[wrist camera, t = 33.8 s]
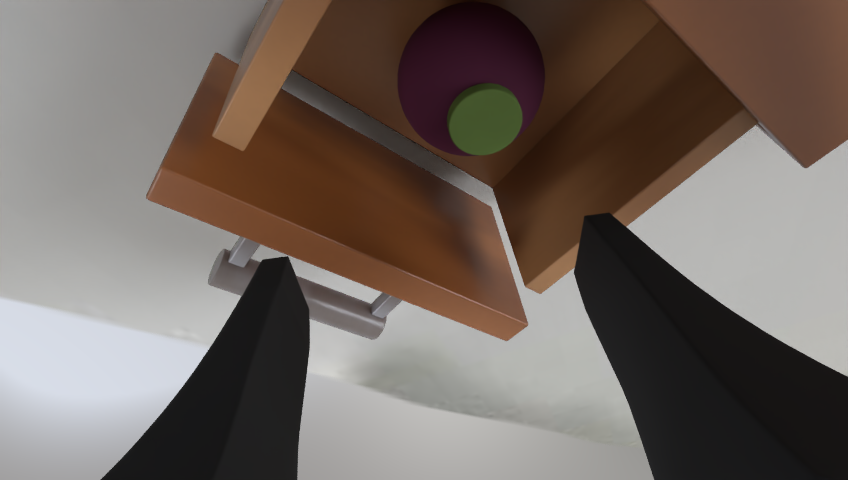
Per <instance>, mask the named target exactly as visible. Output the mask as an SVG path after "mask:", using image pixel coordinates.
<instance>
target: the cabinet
mask: <svg viewBox="0 0 848 480" xmlns="http://www.w3.org/2000/svg"><path fill="white" fill-rule="evenodd" d="M641 1H642V3H643V4H644V5H645V6H646V7H647V8H648V9H649V10H650V11H651V12H652V13H653V14H654V15H655V16H656V17H657V18H658V19H659V20H660V21H661V22H662V23H663V24H664V25H665V26H666V28H667V29H668V30H669V31H670V32H671V33H672V34H673V35H674V36H675V37H676V38H677V39H678V40H679V41H680V42H681V43H682V44H683V45H684V46H685V47H686V48H687V49H688V50H689V51H690V52H691V54H692V55H693V56H694V57H695V58H696V59H697V60H698V61H699V62H700V63H701V64H702V65H703V66H704V67H705V68H706V69H707V70H708V71H709V72H710V73H711V74H712V75H713V76H714V77H715V78H716V80H717V81H718V82H719V83H720V84H721V85H722V86H723V87H724V88H725V89H726V90H727V91H728V92H729V93H730V94H731V95H732V96H733V97H734V98H735V99H736V100H737V101H738V102H739V103H740V105H741V106H742V107H743V108H744V109H745V110H746V111H747V112H748V113H749V114H750V115H751V116H752V117H753V118H754V119H755V120H756V121H757V122H758V123H757V124H756V126H757V127H758V128H759V129H761V130H762V131H763V132H764V133H765V134H766V135H767V136H768V137H770V138H771V139H772V140H773V141H774V142H775V143H776V144H778V145H779V146H780V147H781V148H782V149H783V150H785V151H786V152H787V153H788V154H789V155H790V156H791V157H792V158H793V159H794V160H796V161H797V162H798V163H799V164H800V165H801V166H802V167H804V168H808V167H809V166H811V165H812V164H814V163H815V162H816V161H818V160H819V159H821V158H822V157H824V156H825V155H826V154H828V153H829V152H831V151H832V150H834V149H835V148H836V147H838V146H839V145H841V144H842V143H844V142H845V141H846V140H848V0H641Z"/></svg>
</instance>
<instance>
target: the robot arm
mask: <svg viewBox="0 0 848 480" xmlns="http://www.w3.org/2000/svg"><path fill="white" fill-rule="evenodd" d="M574 275H575V278H576V281H577V285H578V288H579V291H580V294H581V297H582V300H583V303H584V306H585V309H586V312H587V314H588V316H589V318H590V320H591V323H592V325H593V327H594V329H595V331H596V333H597V336H598V338H599V340H600V342H601V344H602V346H603V348H604V351H605V353H606V355H607V357H608V359H609V361H610V363H611V365H612V368H613V370H614V372H615V374H616V376H617V378H618V380H619V382H620V385H621V387H622V389H623V391H624V394H625V396H626V399H627V401H628V403H629V406H630V409H631V412H632V415H633V418H634V420H635V423H636V426H637V429H638V432H639V435H640V438H641V440H642V443H643V447H644V450H645V453H646V456H647V459H648V462H649V465H650V468H651V471H652V474H653V477H654V480H848V377H847V376H845V375H843V374H841V373H839V372H837V371H835V370H833V369H831V368H829V367H827V366H825V365H823V364H821V363H819V362H817V361H816V360H814V359H812V358H810V357H808V356H807V355H805V354H803V353H801V352H799V351H797V350H796V349H794V348H792V347H790V346H788V345H787V344H785V343H783V342H781V341H780V340H778V339H776V338H774V337H773V336H771V335H769V334H768V333H766V332H764V331H763V330H761V329H760V328H758V327H756V326H755V325H753V324H752V323H750V322H749V321H747V320H745V319H744V318H742V317H741V316H739V315H738V314H736V313H734V312H733V311H732V310H730V309H729V308H727V307H726V306H724V305H723V304H721V303H720V302H718V301H717V300H716V299H714V298H713V297H712V296H710V295H709V294H707V293H706V292H705V291H703V290H702V289H701V288H699V287H698V286H696V285H695V284H694V283H693V282H691V281H690V280H689V279H687V278H686V277H685V276H683V275H682V274H681V273H680V272H679V271H677V270H676V269H675V268H674V267H672V266H671V265H670V264H669V263H667V262H666V261H665V260H664V259H663V258H661V257H660V256H659V255H658V254H657V253H655V252H654V251H653V250H652V249H651V248H650V247H648V246H647V245H646V244H645V243H644V242H643V241H642V240H640V239H639V238H638V237H637V236H636V235H635V234H633V233H632V232H631V231H630V230H629V229H628V228H627V227H625V226H624V225H623V224H622V223H621V222H620V221H619V220H617V219H616V218H615V217H614V216H613V215H612V214H611V213H602V214H594V215H587V216H584V220H583V226H582V231H581V237H580V242H579V248H578V253H577V259H576V264H575V269H574ZM309 348H310V321H309V307H308V305H307V302H306V300H305V297H304V295H303V292H302V290H301V287H300V285H299V282H298V280H297V277H296V275H295V272H294V270H293V268H292V265H291V263H290V260H289V258H288V256H287V257H279V258H272V259H265V260H262V261H261V263H260V264H259V266H258V268H257V269H256V271H255V273H254V275H253V277H252V279H251V280H250V282H249V284H248V286H247V288H246V289H245V291H244V293H243V295H242V296H241V298H240V300H239V302H238V303H237V305H236V307H235V309H234V310H233V312H232V314H231V315H230V317H229V319H228V320H227V322H226V323H225V325H224V327H223V328H222V330H221V332H220V333H219V335H218V336H217V338H216V340H215V341H214V343H213V344H212V346H211V347H210V349H209V350H208V352H207V353H206V355H205V356H204V357H203V359H202V360H201V362H200V363H199V365H198V366H197V368H196V369H195V371H194V372H193V373H192V375H191V376H190V377H189V379H188V380H187V382H186V383H185V385H184V386H183V387H182V388H181V390H180V391H179V392H178V394H177V395H176V396H175V397H174V399H173V400H172V401H171V402H170V404H169V405H168V406H167V408H166V409H165V410H164V411H163V412H162V414H161V415H160V416H159V417H158V418H157V419H156V420H155V422H154V423H153V424H152V425H151V426H150V428H149V429H148V430H147V431H146V432H145V433H144V435H143V436H142V437H141V438H140V439H139V440H138V441H137V442H136V443H135V445H134V446H133V447H132V448H131V449H130V450H129V451H128V452H127V453H126V454H125V455H124V457H123V458H122V459H121V460H120V461H119V462H118V463H117V464H116V465H115V466H114V467H113V468H112V469H111V470H110V471H109V472H108V473H107V474H106V475H105V476H104V477H103V478H102V479H101V480H297V467H298V466H297V465H298V442H299V431H300V423H301V415H302V407H303V399H304V391H305V382H306V374H307V366H308V357H309Z"/></svg>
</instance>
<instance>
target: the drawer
mask: <svg viewBox="0 0 848 480" xmlns="http://www.w3.org/2000/svg"><path fill="white" fill-rule="evenodd" d="M464 2H483V3H489V4H493V5H496V6H499V7H501V8H503V9H505V10H507V11H509V12H511V13H512V14H513V15H515V16H516V17H518V18H519V19H520V20H521V21H522V22H523V23H524V24H525V25H526V26H527V27H528V29H529V30H530V31H531V33H532V34H533V36H534V37H535V39H536V41H537V43H538V45H539V48H540V50H541V53H542V57H543V62H544V67H545V85H544V93H543V97H542V101H541V103H540V106H539V109H538V111H537V113H536V115H535V117H534V119H533V120H532V122H531V123H530V125H529V126H528V127H527V128H526V130H525V131H524V132H523V133H522V134H521V135H520V136H519V137H518V138H517V139H515V140H514V141H513V142H512V143H510V144H509V145H508V146H507V147H505V148H504V149H502V150H500V151H498V152H496V153H493V154H489V155H479V156H458V155H453V154H449V153H446V152H444V151H441V150H439V149H437V148H435V147H433V146H432V145H430V144H429V143H427V142H426V141H425V140H424V139H423V138H422V137H420V136H419V135H418V134H417V133H416V131H415V130H414V129H413V128H412V126H411V125H410V123H409V121H408V120H407V118H406V116H405V114H404V112H403V110H402V106H401V103H400V99H399V95H398V68H399V63H400V59H401V56H402V53H403V50H404V48H405V46H406V44H407V42H408V40H409V38H410V37H411V35H412V34H413V33H414V31H415V30H416V29H417V28H418V27H419V26H420V25H421V24H422V23H423V22H424V21H425V20H426V19H427V18H428V17H430V16H431V15H432V14H434V13H436V12H437V11H439V10H441V9H443V8H445V7H448V6H451V5H454V4H458V3H464ZM291 70H293V71H295V72H297V73H298V74H300V75H302V76H303V77H305V78H307V79H308V80H310V81H312V82H314V83H315V84H317V85H319V86H320V87H322V88H324V89H325V90H327V91H329V92H330V93H332V94H334V95H336V96H337V97H339V98H341V99H342V100H344V101H346V102H347V103H349V104H351V105H353V106H354V107H356V108H358V109H359V110H361V111H363V112H364V113H366V114H368V115H369V116H371V117H373V118H375V119H376V120H378V121H380V122H381V123H383V124H385V125H386V126H388V127H390V128H392V129H393V130H395V131H397V132H398V133H400V134H402V135H403V136H405V137H407V138H409V139H410V140H412V141H414V142H415V143H417V144H419V145H420V146H422V147H424V148H425V149H427V150H429V151H431V152H432V153H434V154H436V155H437V156H439V157H441V158H442V159H444V160H446V161H448V162H449V163H451V164H453V165H454V166H456V167H458V168H459V169H461V170H463V171H464V172H466V173H468V174H470V175H471V176H473V177H475V178H476V179H478V180H480V181H481V182H483V183H485V184H487V185H488V186H490V187H492V188H493V192H494V195H495V198H496V201H497V204H498V207H499V210H500V213H501V216H502V219H503V222H504V225H505V228H506V231H507V234H508V237H509V240H510V243H511V246H512V249H513V252H514V255H515V258H516V261H517V264H518V267H519V270H520V273H521V276H522V279H523V282H524V285H525V287H527V288H529V289H531V290H533V291H535V292H537V293H539V294H541V293H542V292H544V291H545V290H546V289H548V288H549V287H550V286H551V285H553V284H554V283H555V282H556V281H558V280H559V279H560V278H562V277H563V276H564V275H565V274H567V273H568V272H569V271H570V270H572V269H573V268H574V267H575V264H576V259H577V253H578V248H579V242H580V237H581V231H582V226H583V220H584V216H587V215H594V214H602V213H611V214H612V215H613V216H614V217H615V218H616V219H617V220H619V221H620V222H621V223H622V224H623V225H624V226H625V227H626V226H628V225H629V224H630V223H632V222H633V221H634V220H635V219H637V218H638V217H639V216H640V215H642V214H643V213H644V212H645V211H647V210H648V209H649V208H651V207H652V206H653V205H654V204H656V203H657V202H658V201H659V200H661V199H662V198H663V197H665V196H666V195H667V194H668V193H670V192H671V191H672V190H673V189H675V188H676V187H677V186H679V185H680V184H681V183H682V182H684V181H685V180H686V179H687V178H689V177H690V176H691V175H693V174H694V173H695V172H696V171H698V170H699V169H700V168H701V167H703V166H704V165H705V164H707V163H708V162H709V161H710V160H712V159H713V158H714V157H715V156H717V155H718V154H719V153H721V152H722V151H723V150H724V149H726V148H727V147H728V146H729V145H731V144H732V143H733V142H735V141H736V140H737V139H738V138H740V137H741V136H742V135H743V134H745V133H746V132H747V131H749V130H750V129H751V128H752V127H754V126H755V125H756V124H757V123H758V122H757V121H756V120H755V119H754V118H753V117H752V116H751V115H750V114H749V113H748V112H747V111H746V110H745V109H744V108H743V107H742V106H741V105H740V103H739V102H738V101H737V100H736V99H735V98H734V97H733V96H732V95H731V94H730V93H729V92H728V91H727V90H726V89H725V88H724V87H723V86H722V85H721V84H720V83H719V82H718V81H717V80H716V78H715V77H714V76H713V75H712V74H711V73H710V72H709V71H708V70H707V69H706V68H705V67H704V66H703V65H702V64H701V63H700V62H699V61H698V60H697V59H696V58H695V57H694V56H693V55H692V54H691V52H690V51H689V50H688V49H687V48H686V47H685V46H684V45H683V44H682V43H681V42H680V41H679V40H678V39H677V38H676V37H675V36H674V35H673V34H672V33H671V32H670V31H669V30H668V29H667V28H666V26H665V25H664V24H663V23H662V22H661V21H660V20H659V19H658V18H657V17H656V16H655V15H654V14H653V13H652V12H651V11H650V10H649V9H648V8H647V7H646V6H645V5H644V4H643V3H642V1H641V0H268V1H267V3H266V5H265V7H264V9H263V11H262V13H261V15H260V17H259V19H258V21H257V23H256V25H255V27H254V29H253V31H252V33H251V35H250V37H249V40H248V43H247V45H246V48H245V50H244V53H243V56H242V58H241V61H240V63H239V65H238V64H237V63H235V62H233V61H231V60H229V59H228V58H226V57H224V56H222V55H221V54H219V53H215V54H214V56H213V58H212V60H211V62H210V64H209V66H208V68H207V70H206V72H205V74H204V76H203V79H202V81H201V83H200V85H199V87H198V89H197V91H196V93H195V95H194V97H193V99H192V101H191V103H190V105H189V107H188V110H187V112H186V114H185V116H184V118H183V120H182V122H181V124H180V126H179V128H178V130H177V132H176V134H175V136H174V138H173V141H172V143H171V145H170V147H169V149H168V151H167V153H166V155H165V157H164V159H163V161H162V163H161V165H160V167H159V169H158V172H157V174H156V176H155V178H154V180H153V182H152V184H151V186H150V188H149V191H148V193H147V195H146V199H148V200H150V201H152V202H155V203H157V204H160V205H163V206H165V207H168V208H170V209H173V210H175V211H178V212H180V213H183V214H185V215H188V216H190V217H193V218H195V219H198V220H201V221H203V222H206V223H208V224H211V225H213V226H216V227H218V228H221V229H223V230H226V231H228V232H231V233H233V234H236V235H239V236H240V238H239V239H238V241H237V242H236V244H235V245H234V247H233V248H232V250H231V251H229V250H227V249H223V250H222V251H221V252H220V253H219V255H218V257H217V259H216V260H215V263H214V265H213V267H212V269H211V272H210V275H209V279H208V284H209V285H211V286H214V287H217V288H220V289H222V290H225V291H228V292H231V293H234V294H237V295H240V296H242V295H243V293H244V291H245V289H246V288H247V286H248V284H249V282H250V280H251V279H252V277H253V275H254V273H255V271H256V269H257V268H258V266H259V264H260V263H261V262H258V261H256V260H253V259H250V258H251V257H252V255H253V254H254V253H255V251H256V250H257V248H258V247H259V245H260V244H261V245H264V246H266V247H269V248H272V249H274V250H277V251H279V252H282V253H284V254H287V255H289V256H292V257H294V258H297V259H299V260H302V261H304V262H307V263H310V264H312V265H315V266H317V267H320V268H322V269H325V270H327V271H330V272H332V273H335V274H337V275H340V276H342V277H345V278H348V279H350V280H353V281H355V282H358V283H360V284H363V285H365V286H368V287H370V288H373V289H375V290H378V291H381V292H383V293H382V294H381V295H380V296H379V297H378V298H377V299H376V300H375V301H374V302H373V303H372V304H370V303H367V302H365V301H362V300H359V299H357V298H354V297H351V296H349V295H346V294H344V293H341V292H338V291H336V290H333V289H330V288H328V287H325V286H322V285H320V284H317V283H314V282H312V281H309V280H306V279H304V278H301V277H298V276H296V277H297V280H298V282H299V285H300V287H301V290H302V292H303V295H304V297H305V300H306V302H307V305H308V307H309V319H312V320H315V321H318V322H321V323H324V324H327V325H330V326H333V327H336V328H339V329H342V330H345V331H348V332H351V333H354V334H357V335H360V336H362V337H365V338H368V339H371V340H373V339H376V338H377V337H379V335H380V334H381V333H382V331H383V329H384V326H385V323H386V315H388V314H389V313H390V312H391V311H392V310H393V309H394V308H395V307H396V306H397V305H398V304H399V303H400V302H401V301H402V300H403V301H406V302H408V303H411V304H413V305H416V306H419V307H421V308H424V309H426V310H429V311H431V312H434V313H436V314H439V315H441V316H444V317H446V318H449V319H452V320H454V321H457V322H459V323H462V324H464V325H467V326H469V327H472V328H474V329H477V330H479V331H482V332H484V333H487V334H490V335H492V336H495V337H497V338H500V339H502V340H505V341H508V340H509V339H511V338H512V337H513V336H515V335H516V334H517V333H519V332H520V331H521V330H523V329H524V328H525V327H527V326H528V322H527V319H526V315H525V312H524V309H523V306H522V303H521V300H520V296H519V293H518V290H517V287H516V284H515V281H514V277H513V274H512V271H511V268H510V265H509V261H508V258H507V255H506V252H505V249H504V246H503V242H502V239H501V236H500V233H499V230H498V227H497V223H496V220H495V217H494V214H493V211H492V208H491V207H490V206H489V205H487V204H485V203H483V202H481V201H480V200H478V199H476V198H474V197H473V196H471V195H469V194H467V193H465V192H464V191H462V190H460V189H458V188H457V187H455V186H453V185H451V184H450V183H448V182H446V181H444V180H442V179H441V178H439V177H437V176H435V175H434V174H432V173H430V172H428V171H426V170H425V169H423V168H421V167H419V166H418V165H416V164H414V163H412V162H410V161H409V160H407V159H405V158H403V157H402V156H400V155H398V154H396V153H395V152H393V151H391V150H389V149H387V148H386V147H384V146H382V145H380V144H379V143H377V142H375V141H373V140H371V139H370V138H368V137H366V136H364V135H363V134H361V133H359V132H357V131H355V130H354V129H352V128H350V127H348V126H347V125H345V124H343V123H341V122H339V121H338V120H336V119H334V118H332V117H331V116H329V115H327V114H325V113H324V112H322V111H320V110H318V109H316V108H315V107H313V106H311V105H309V104H308V103H306V102H304V101H302V100H300V99H299V98H297V97H295V96H293V95H292V94H290V93H288V92H286V91H284V90H283V89H281V87H282V85H283V84H284V82H285V80H286V78H287V77H288V75H289V73H290V72H291Z"/></svg>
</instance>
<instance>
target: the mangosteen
mask: <svg viewBox="0 0 848 480" xmlns="http://www.w3.org/2000/svg"><path fill="white" fill-rule="evenodd" d="M544 85H545V67H544V62H543V57H542V53H541V50H540V48H539V45H538V43H537V41H536V39H535V37H534V36H533V34H532V33H531V31H530V30H529V29H528V27H527V26H526V25H525V24H524V23H523V22H522V21H521V20H520V19H519V18H518V17H516V16H515V15H513V14H512V13H511V12H509V11H507V10H505V9H503V8H501V7H499V6H496V5H493V4H489V3H483V2H464V3H458V4H454V5H451V6H448V7H445V8H443V9H441V10H439V11H437V12H436V13H434V14H432V15H431V16H430V17H428V18H427V19H426V20H425V21H424V22H423V23H422V24H421V25H420V26H419V27H418V28H417V29H416V30H415V31H414V33H413V34H412V35H411V37H410V38H409V40H408V42H407V44H406V46H405V48H404V50H403V53H402V56H401V59H400V63H399V68H398V95H399V99H400V103H401V106H402V110H403V112H404V114H405V116H406V118H407V120H408V121H409V123H410V125H411V126H412V128H413V129H414V130H415V131H416V133H417V134H418V135H419V136H420V137H422V138H423V139H424V140H425V141H426V142H427V143H429V144H430V145H432V146H433V147H435V148H437V149H439V150H441V151H444V152H446V153H449V154H453V155H458V156H479V155H489V154H493V153H496V152H498V151H500V150H502V149H504V148H505V147H507V146H508V145H509V144H510V143H512V142H513V141H514V140H515V139H517V138H518V137H519V136H520V135H521V134H522V133H523V132H524V131H525V130H526V128H527V127H528V126H529V125H530V123H531V122H532V120H533V119H534V117H535V115H536V113H537V111H538V109H539V106H540V103H541V101H542V97H543V93H544Z"/></svg>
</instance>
